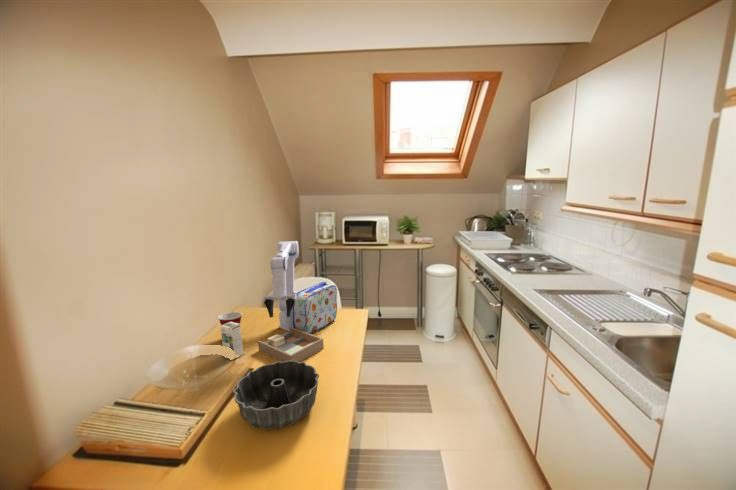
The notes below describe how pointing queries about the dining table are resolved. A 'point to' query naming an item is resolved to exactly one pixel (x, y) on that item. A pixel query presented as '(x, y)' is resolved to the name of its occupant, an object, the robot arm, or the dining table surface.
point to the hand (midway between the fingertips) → (279, 316)
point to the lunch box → (315, 307)
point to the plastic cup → (230, 317)
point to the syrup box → (232, 337)
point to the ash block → (276, 340)
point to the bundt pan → (277, 394)
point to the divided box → (293, 346)
